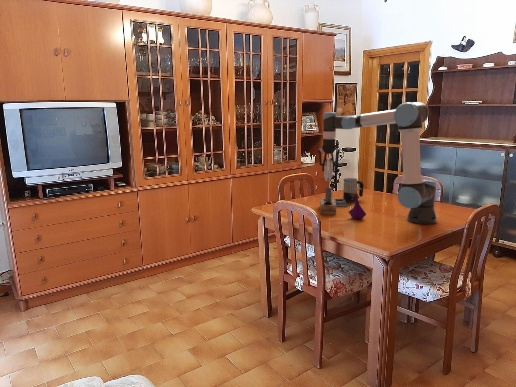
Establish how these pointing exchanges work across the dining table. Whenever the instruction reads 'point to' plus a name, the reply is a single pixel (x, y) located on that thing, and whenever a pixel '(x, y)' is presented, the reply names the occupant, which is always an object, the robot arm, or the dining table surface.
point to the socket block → (341, 203)
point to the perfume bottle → (357, 208)
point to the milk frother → (351, 189)
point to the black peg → (328, 195)
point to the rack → (327, 207)
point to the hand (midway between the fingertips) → (328, 176)
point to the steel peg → (328, 169)
